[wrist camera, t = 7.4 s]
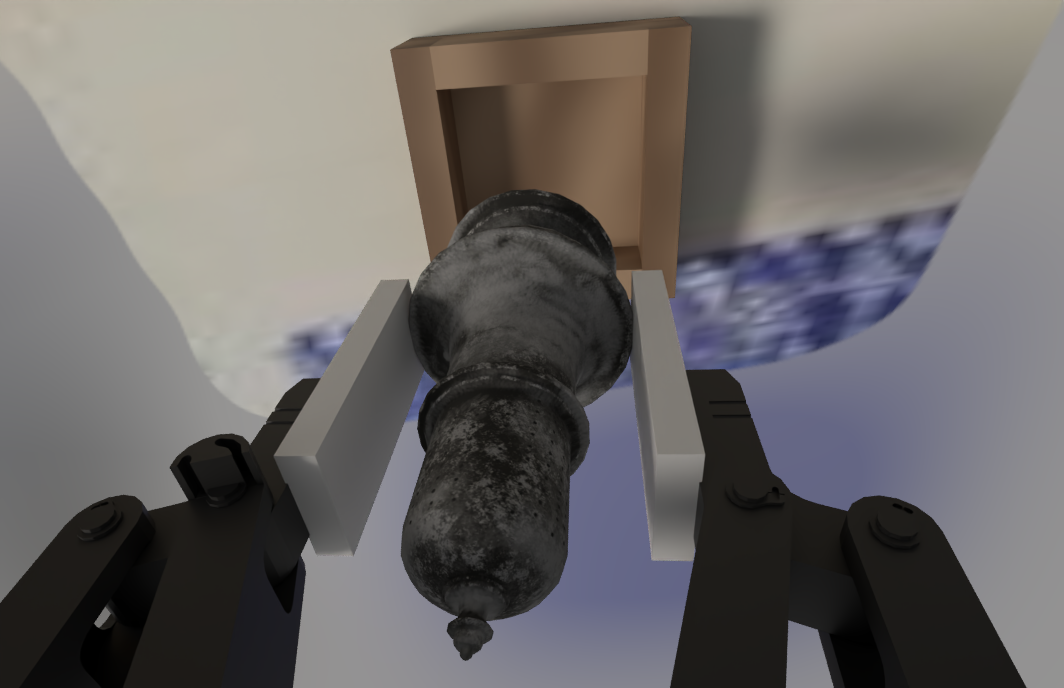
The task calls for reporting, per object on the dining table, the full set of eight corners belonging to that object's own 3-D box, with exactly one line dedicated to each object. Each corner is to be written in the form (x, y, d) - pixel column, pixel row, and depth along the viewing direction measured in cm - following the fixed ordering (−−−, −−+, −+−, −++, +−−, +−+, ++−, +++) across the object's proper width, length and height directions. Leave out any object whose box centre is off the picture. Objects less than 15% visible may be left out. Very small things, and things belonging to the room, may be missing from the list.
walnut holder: (679, 16, 24) (691, 26, 21) (666, 265, 30) (674, 297, 27) (411, 38, 25) (390, 49, 22) (452, 273, 31) (438, 304, 28)
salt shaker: (659, 217, 17) (762, 597, 7) (585, 371, 20) (586, 781, 10) (462, 149, 16) (271, 463, 6) (418, 319, 20) (246, 704, 10)
